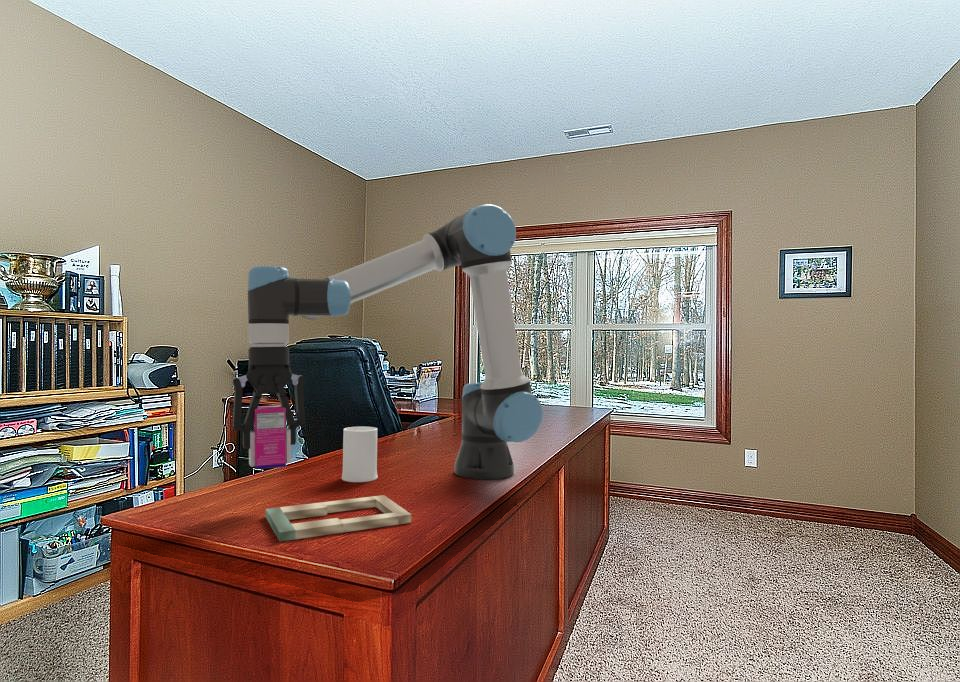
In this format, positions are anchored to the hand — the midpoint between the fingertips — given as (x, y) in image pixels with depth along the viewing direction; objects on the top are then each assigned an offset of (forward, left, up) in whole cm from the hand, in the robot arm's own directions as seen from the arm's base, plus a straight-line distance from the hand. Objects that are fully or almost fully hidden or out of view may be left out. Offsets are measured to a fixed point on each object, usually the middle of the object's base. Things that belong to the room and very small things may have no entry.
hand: (270, 463), depth 113 cm
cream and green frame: (-10, +13, -9) cm, 19 cm away
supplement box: (0, 0, -1) cm, 1 cm away
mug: (-24, -18, -9) cm, 32 cm away
